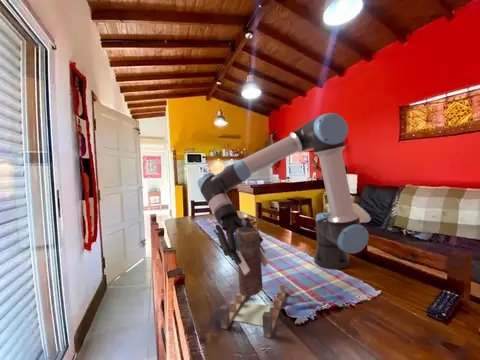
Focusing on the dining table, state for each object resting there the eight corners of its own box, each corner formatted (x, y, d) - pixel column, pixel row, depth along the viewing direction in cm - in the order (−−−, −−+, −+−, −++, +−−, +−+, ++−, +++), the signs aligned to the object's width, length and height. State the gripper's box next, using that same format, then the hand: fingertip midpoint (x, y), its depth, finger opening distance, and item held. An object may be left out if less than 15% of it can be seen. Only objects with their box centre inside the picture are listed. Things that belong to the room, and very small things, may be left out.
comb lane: (287, 292, 88) (286, 276, 88) (270, 338, 66) (269, 316, 65) (248, 287, 94) (247, 272, 93) (221, 328, 71) (219, 308, 71)
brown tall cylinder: (249, 283, 82) (245, 224, 80) (267, 289, 77) (263, 227, 76) (234, 293, 76) (230, 230, 75) (253, 300, 71) (249, 233, 70)
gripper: (241, 211, 93) (274, 264, 82) (194, 221, 81) (225, 285, 69) (249, 198, 89) (285, 252, 77) (201, 207, 76) (235, 273, 65)
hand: (257, 268), depth 73 cm, fingers closed on brown tall cylinder, 7 cm apart
